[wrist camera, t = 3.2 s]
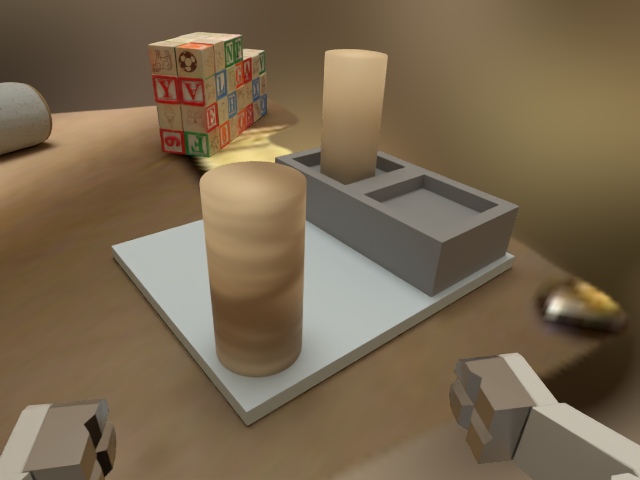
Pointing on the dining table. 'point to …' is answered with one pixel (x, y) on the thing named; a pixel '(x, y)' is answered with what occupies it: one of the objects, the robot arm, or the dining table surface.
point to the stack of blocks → (206, 91)
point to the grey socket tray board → (340, 247)
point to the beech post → (255, 264)
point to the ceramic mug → (22, 117)
